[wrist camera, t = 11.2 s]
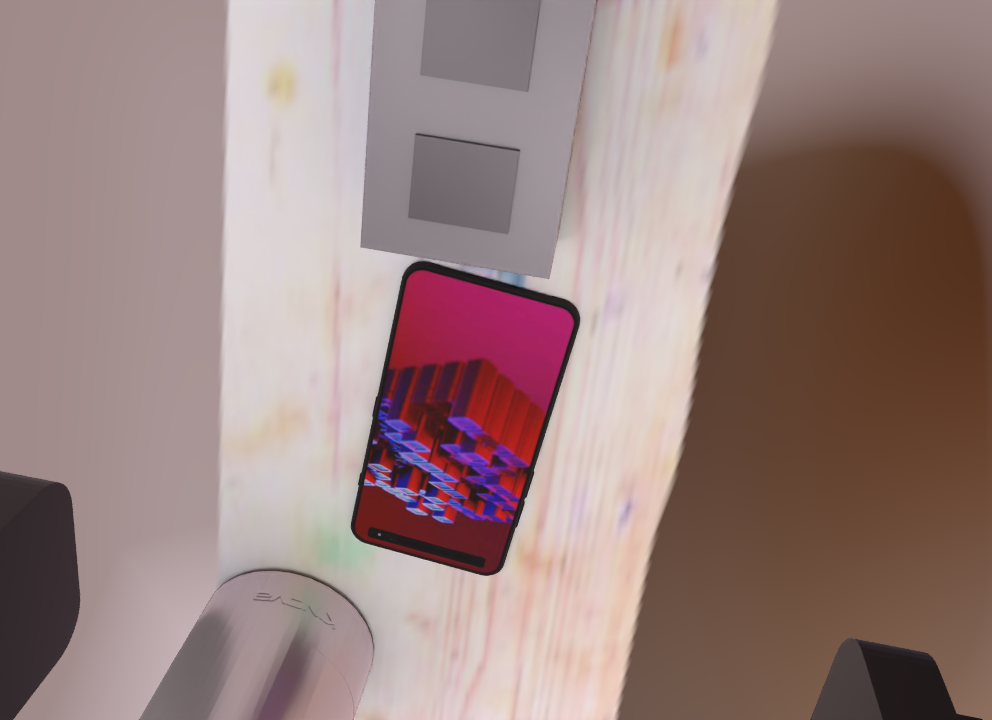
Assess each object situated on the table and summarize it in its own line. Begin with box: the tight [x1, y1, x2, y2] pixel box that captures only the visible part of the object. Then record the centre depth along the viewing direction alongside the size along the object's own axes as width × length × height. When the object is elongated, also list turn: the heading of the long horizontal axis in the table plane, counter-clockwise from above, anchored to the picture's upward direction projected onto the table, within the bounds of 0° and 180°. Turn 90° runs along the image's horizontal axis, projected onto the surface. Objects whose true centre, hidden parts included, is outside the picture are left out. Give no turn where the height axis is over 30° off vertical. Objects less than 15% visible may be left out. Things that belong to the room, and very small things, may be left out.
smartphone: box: [351, 261, 580, 576], centre depth 42 cm, size 8×1×15 cm
